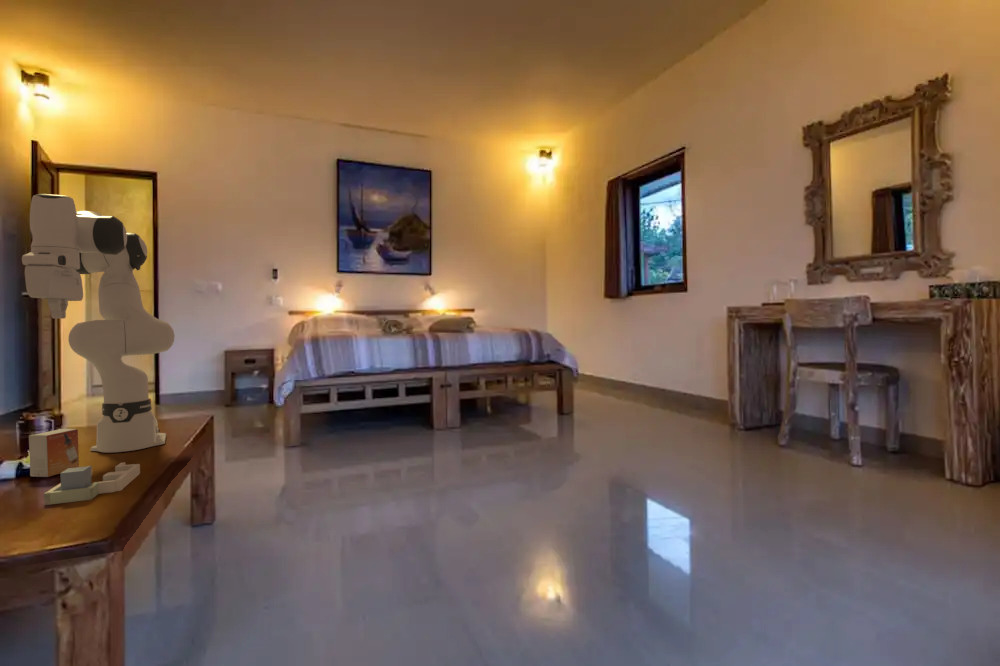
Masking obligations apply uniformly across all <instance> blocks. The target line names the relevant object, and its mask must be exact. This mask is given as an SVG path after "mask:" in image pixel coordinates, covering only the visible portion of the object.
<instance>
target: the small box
mask: <svg viewBox="0 0 1000 666" xmlns="http://www.w3.org/2000/svg"><path fill="white" fill-rule="evenodd" d="M28 448H29V449H28V450H29V476H30V477H36V478H49V477H52V476H55V475H56V476H57V475H59V474H60V473H62V472H63V471H65V470H66V469H68V468H76V467H80V457H79V456H80V455H79V451H80V450H79V429H78V428H58V429H55V430H51V431H50V430H49V431H45V432H41V433H40V432H39V433H35V434H29V435H28Z"/></svg>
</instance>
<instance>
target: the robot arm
mask: <svg viewBox="0 0 1000 666" xmlns="http://www.w3.org/2000/svg"><path fill="white" fill-rule="evenodd" d="M29 232H30V237H31V239H32V241H31V244H30V251H29V252H28V253H25V254H23V255H22V256H21V262H22V265H23V266H25V267H24V279H25V281H24V282H25V286H26V287H25V288H26V292H27V294H28V296H29V297H30V298H32V299H43V300H47V305H48V307H49V309H50V317H51V318H52V319H62V320H63V319H66V316H67V314H66V313H67V308H68V306H69V302H79V301H80V302H82V301H83V298H84V288H83V287H84V286H83V280H82V275H90V274H92V273H93V274H94V273H103V274H101V277H100V280H99V283H98V289H97V290H98V294H97V295H98V307H99V310H98V311H99V314H100V315H101V317H102V318H103V319H95V320H93V319H92V320H88V321H82V322H77V323H76V324H74V326H73V327H72V328H71V329H70V331H69V333H68V340H67V341H68V345H69V346H70V348H71V349H72V351H73V352H74V353H75V354H76V355H78V356H80V357H82V358H84V359H86V360H87V361H88V362H89V363H90V364H92V366H93V367H94V368H95V369H96V370H97V373H98V374H99V376H100V379H101V385H102V386H101V387H102V395H103V402H102V404H101V405H102V406H101V411H102V416H103V417H102V418H101V419H100V420H99V421H98V422H97V423H96V445H92V446H91V447H90V452H100V453H111V454H112V453H122V452H130V451H131V452H132V451H137V450H142V449H146V448H147V449H148V448H151V447H156V446H161V445H165V443H166V440H167V433H166V432H160V428H159V427H158V426H159V425H158V424H159V423H158V420H157V418H156V416H155V414H153V412H152V408H153V407H152V399H151V398H149V378H148V375H147V373H146V372H145V371H143V370H142V369H140V368H137V367H135V366H132V365H128V364H126V363H124V362H123V360H122V358H123V357H126V356H141V355H143V356H145V355H146V356H147V355H155V354H159V353H163V352H167V351H168V350H170V349H171V347H172V346H173V344H174V342H175V331H174V329H173V327H172V326H171V325H170V324H169V323H168V322H167V321H165V320H162V319H159V318H157V317H156V316H153V315H152V314H150V313H149V312H148V311H147V310H146V309H145V308H144V305H143V301H142V296H141V290H140V286H139V284H138V281H137V279H136V277H135V274H134V270H136V271H141V266H143V265H144V264H145V262H146V260H147V258H148V246H147V244H146V243H145V241H144V240H143V238H141V236H140V235H139V234H137V233H135V232H127V229H126V227H125V225H124V223H123V221H121V220H120V219H119V218H118V217H115V216H114V215H103V214H101V213H99V212H96V211H91V210H77V208H76V205H75V200H74V198H72V197H71V196H68V195H63V194H62V195H61V194H51V193H50V194H47V193H38V194H37V193H36V194H35V195H33V196H32V198H31V201H30V211H29Z"/></svg>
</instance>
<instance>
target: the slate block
mask: <svg viewBox="0 0 1000 666" xmlns="http://www.w3.org/2000/svg"><path fill="white" fill-rule="evenodd" d="M91 466H92V465H87V466H79V467H76V468H68V469H66V470H65V471H63V472H62V473H60V475H59V476H60V483H61V491H62V490H71V489H80V488H87V487H89V486H90V485H91V484H92V476H91Z"/></svg>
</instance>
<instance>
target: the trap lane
mask: <svg viewBox="0 0 1000 666" xmlns="http://www.w3.org/2000/svg"><path fill="white" fill-rule="evenodd" d="M90 466H91V477H92V476H93V465H90ZM114 470H115V471H110V472H109V471H108V472H107V473H105V474H103V476H102V481H94V482H92V483H91V485H90V486H89V487H87V488H80V489H71V490H62V491H61V482H60V483H58V484H56V485H55V486H54V487H52V488H50V489H49V490H48V491H46V492H44V494H43V501H44V503H43V504H44V506H49V505H56V504H66V503H75V502H82V501H91V500H93V499H94V498H95V497H96V496H98V495H99V494H100V495H101V494H108V493H109V494H111V493H115V492H120V491H122V490H124V489H125V488H126V487H127V486H128V485H129V484H130V483H131V482H132V481H134V479H136V478H137V477H138V476H139V475H140V474H141V465H140V463H136V464H135V463H132V464H126V462H124V461H123V462H120V463H119V464H117V465H115V467H114Z"/></svg>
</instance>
